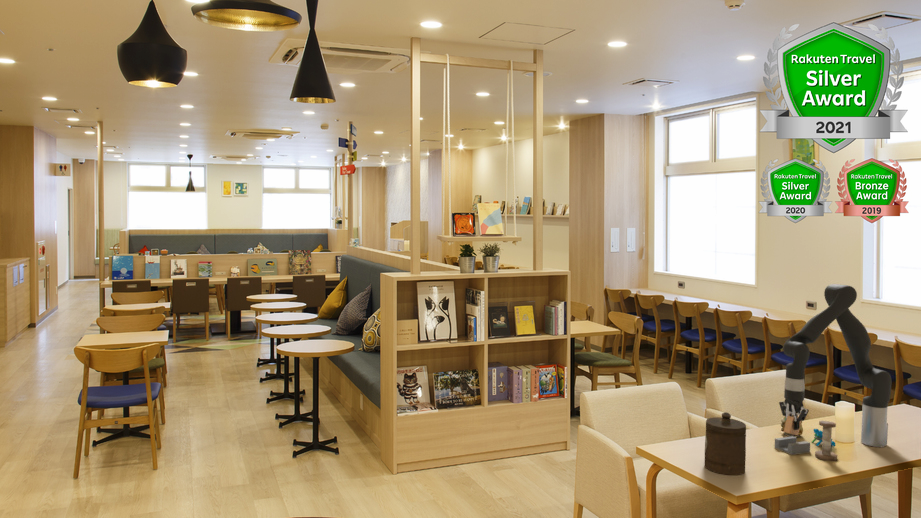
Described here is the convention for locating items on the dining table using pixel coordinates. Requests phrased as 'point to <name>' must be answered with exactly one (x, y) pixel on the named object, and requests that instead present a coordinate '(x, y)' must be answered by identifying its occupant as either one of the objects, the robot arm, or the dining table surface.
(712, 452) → the wooden container
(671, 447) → the dining table surface
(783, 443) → the grooved channel block
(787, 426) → the copper tab
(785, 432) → the decorative figurine
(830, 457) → the bobbin
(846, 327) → the robot arm
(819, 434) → the gear
